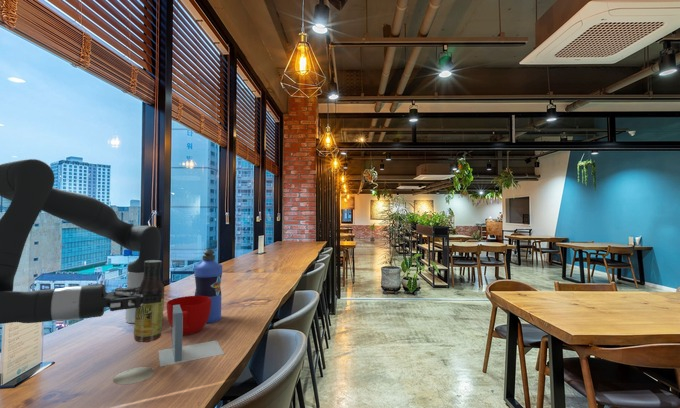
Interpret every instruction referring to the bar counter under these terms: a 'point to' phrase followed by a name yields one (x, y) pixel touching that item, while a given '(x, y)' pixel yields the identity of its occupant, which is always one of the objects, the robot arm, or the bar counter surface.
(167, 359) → the mat
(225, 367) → the bar counter surface
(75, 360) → the bar counter surface
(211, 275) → the water bottle
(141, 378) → the coaster
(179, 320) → the tile
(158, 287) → the sauce bottle
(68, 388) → the bar counter surface
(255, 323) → the bar counter surface
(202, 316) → the ceramic cup
